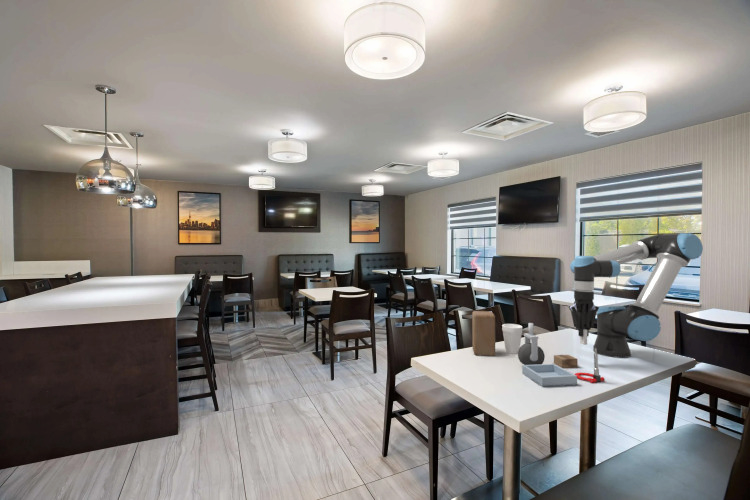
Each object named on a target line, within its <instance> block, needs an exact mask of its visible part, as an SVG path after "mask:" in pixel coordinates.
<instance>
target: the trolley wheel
mask: <svg viewBox="0 0 750 500" xmlns="http://www.w3.org/2000/svg"><path fill="white" fill-rule="evenodd" d="M527 327H528V332H527V333H525V332H524V333H523V336H524V344H522V345H520V348H519V351H518V354H517V358H518V360H519V362H520V364H522V365H537V364H544V362H545V358H546V356H545V351H544V350H543V349H542V348H541V347H540V346H539V345H538V342H539V341H538V339H539V336H538V335H536V334H534V323H533V322H528V326H527Z"/></svg>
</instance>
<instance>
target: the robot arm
mask: <svg viewBox="0 0 750 500" xmlns="http://www.w3.org/2000/svg"><path fill="white" fill-rule="evenodd" d="M703 250H704V246H703V243H702V241H701V239H700V238H699V236H698V235H696V234H694V233H691V232H690V233H689V232H687V233H686V232H680V233H662V234H654V235H652V236H651V235H650V236H648V237H645V238H642V239H639V240H635V241H633V242H631V244H629V245H626V246H622V247H619V248H616V249H613V250H609V251H607V252H603V253H599V254H596V255H593V256H592V255H576V256H575V257H574V260H572V262H571V263H570V264H569V269H570V271H571V272H572V273H573V275H574V276H573V277H574V282H573V284H574V285H573V288H574V291H573V299H574V302H573V305H569V306H568V309H569V310H570V313H571V314H570V315H571V317H572V318H571V319H572V322H573V326H574V327H575V328H577V329H578V337H579V344H581V345H583V346H584V345H588V338H589V336H590V335H589V333H590V331H591V329H593V328H594V326H595V321H596V325H597V329H596V330H597V335H596V339H595V341H594V344H593V346H592V347H593V349H592V350H593V352H594V348H597V355H598V354H599V355H602V356H605V357H611V358H629V357H631V354H632V353H631V349H630V347H629V344H628V341H627V338H631V339H633V340H636V341H641V342H642V341H643V342H648V341H652V340H653V339H655V338H657V336H658V335H659V334H660V332H661V329H662V327H661V325H662V324H661V322H660V320H659V319H660V316H659V314H658V311H659V309H660V308H661V306H662V305H663V303H664V300H665V299H666V296H667V295H668V293H669V291H670V289H671V287H672V285H673V284H674V282H675V280H676V278H677V276H678V274H679V272H680V271H681V269H682V268H684V267H688V265H689V263H690V261H691V260H696V259H698V258H700V257H701V256H702V254H703ZM646 259H658V260H657V262H656V264H655V266H654V268H653V270H652V272H651V273H650V275H649V277H648V279H647V280H646V282H645V284H644V286H643V288H642V289H641V291H640V293H639V295H638V297H637V299H636V301H635V303H631V304H629V305H628V307H627V308H626V307H625V306H623V305H606V306H605V305H603V306H597V305H596V304H594V299H595V292H594V291H595V278H616V277H618V276H619V275H620V274H621V265H623V264H627V263H629V262H633V261H636V260H641V261H642V260H646Z"/></svg>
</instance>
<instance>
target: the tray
mask: <svg viewBox="0 0 750 500" xmlns="http://www.w3.org/2000/svg"><path fill="white" fill-rule="evenodd" d="M521 368H522V369H521V370H522V372H521V374H522V375H524V376H525V377H527V378H528V379H529V380H531V381H532V382H534V383H536V384H537V385H539V387H541V388H546V387H547V388H548V387H550V388H551V387H567V386H569V387H570V386H571V387H572V386H578V378H577V376H576V375H575V373H572V372H570V371H568V370H567V369H566V368H561V367H559V366H557V365H555V364H554V363H543V364H537V365H524V364H522V365H521Z"/></svg>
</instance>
